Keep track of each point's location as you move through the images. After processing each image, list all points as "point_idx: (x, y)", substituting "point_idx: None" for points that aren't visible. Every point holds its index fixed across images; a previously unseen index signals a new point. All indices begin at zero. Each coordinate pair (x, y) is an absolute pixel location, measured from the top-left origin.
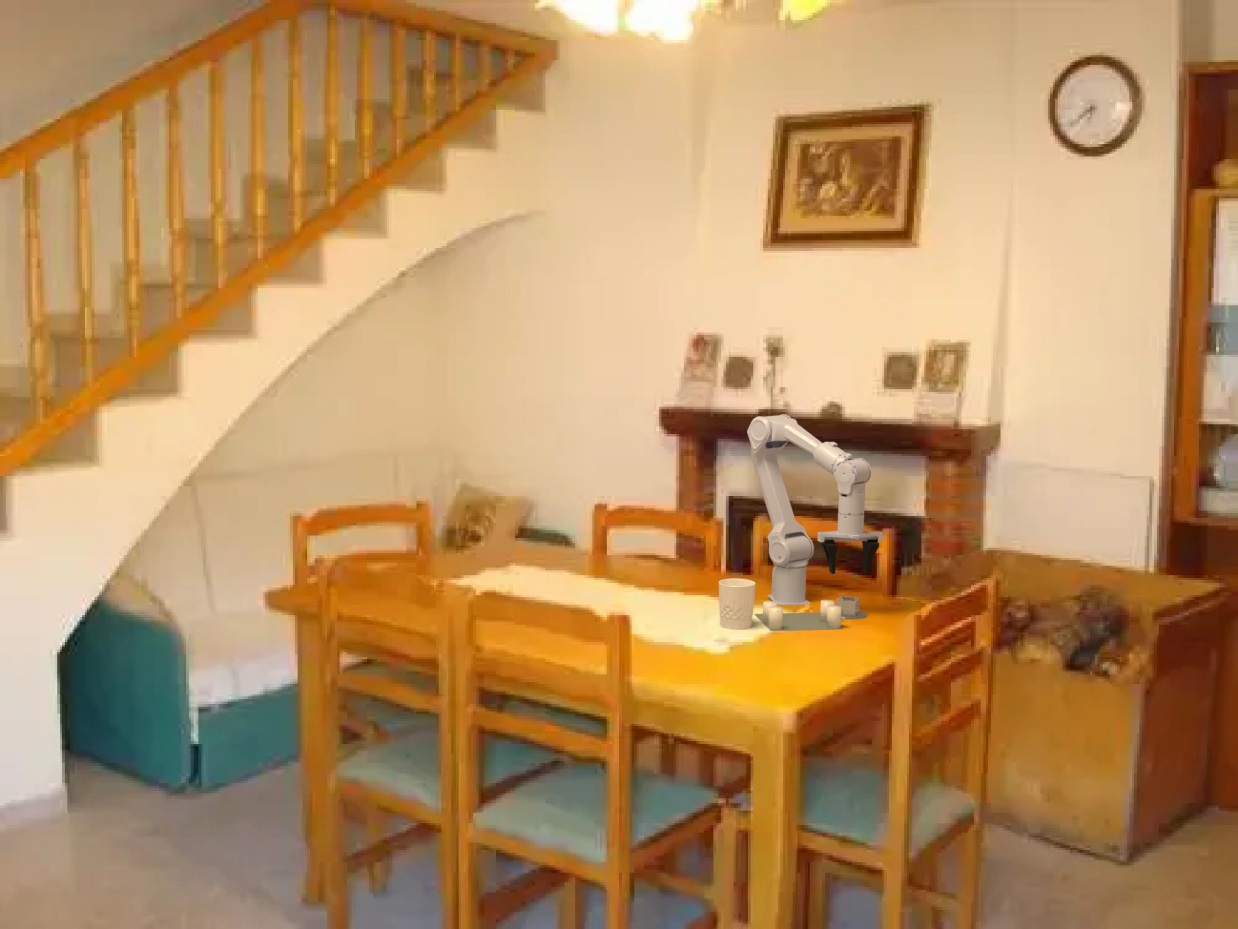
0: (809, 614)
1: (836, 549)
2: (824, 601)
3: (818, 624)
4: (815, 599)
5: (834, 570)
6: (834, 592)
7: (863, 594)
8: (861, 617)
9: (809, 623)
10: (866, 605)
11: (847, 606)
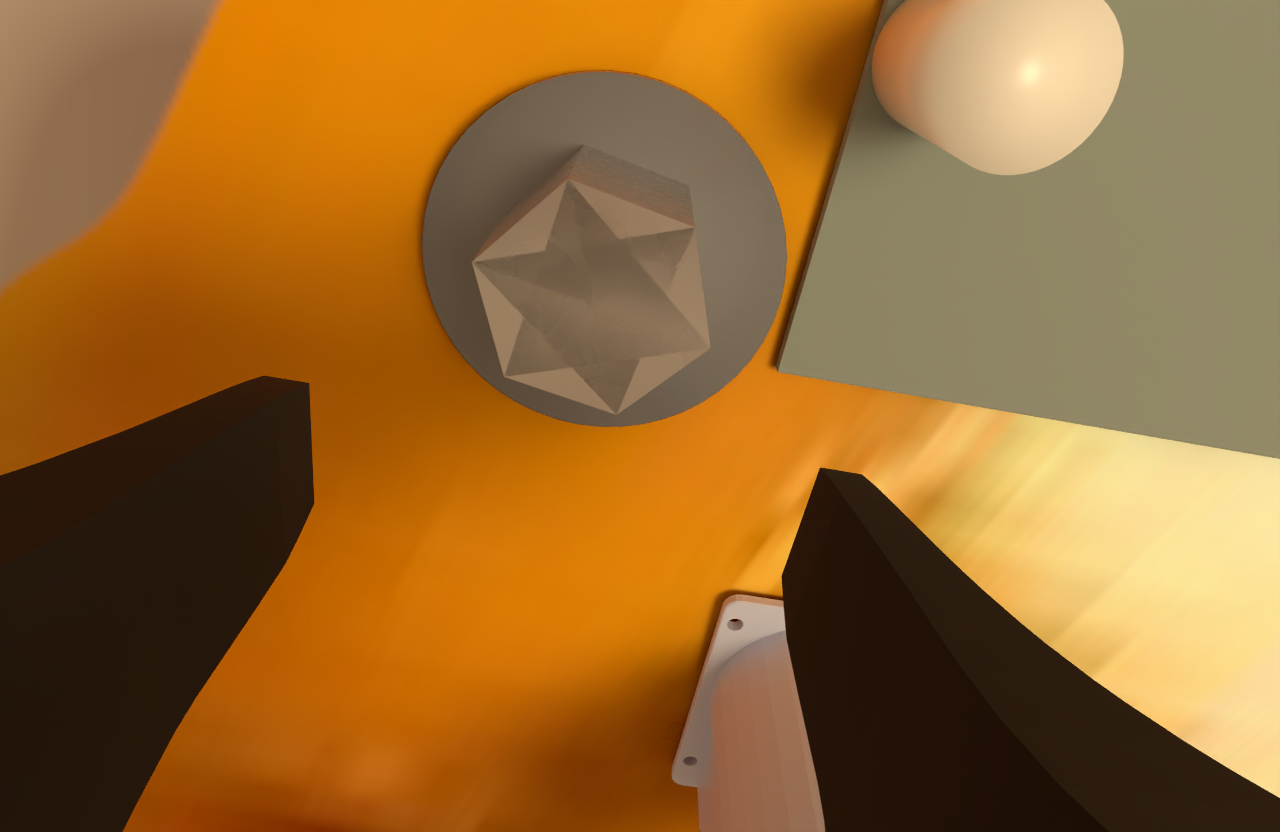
0: (927, 343)
1: (1099, 807)
2: (1067, 94)
3: None
4: (604, 706)
5: (856, 491)
6: (413, 795)
7: (245, 731)
8: (539, 84)
9: (1165, 25)
10: (312, 514)
11: (655, 194)
